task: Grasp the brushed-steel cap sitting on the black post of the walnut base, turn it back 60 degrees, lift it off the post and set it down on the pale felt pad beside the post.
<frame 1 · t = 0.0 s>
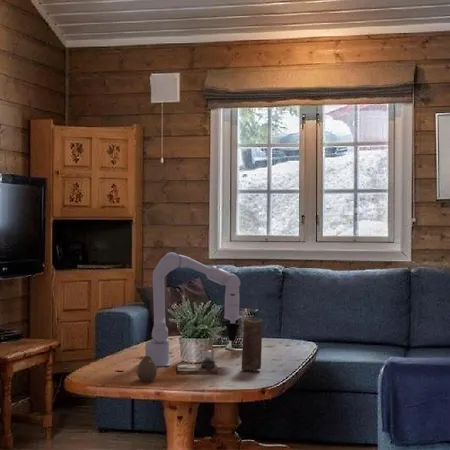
hand: (231, 339, 355), 10 cm above the table, fingers open, 7 cm apart
cap: (208, 362, 342), point 3 cm above the table, touching base board
base board: (197, 370, 342), on the table
vase: (146, 381, 320), on the table
candle: (251, 371, 343), on the table
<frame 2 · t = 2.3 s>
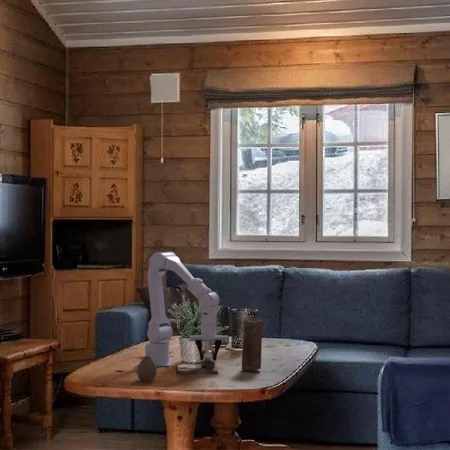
hand: (208, 360, 342), 4 cm above the table, fingers closed on cap, 5 cm apart
cap: (208, 362, 342), point 3 cm above the table, touching base board, gripper
everything else where it was.
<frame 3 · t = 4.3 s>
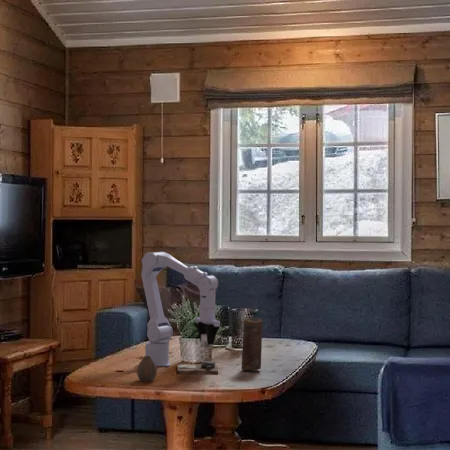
hand: (206, 343, 342), 10 cm above the table, fingers closed on cap, 5 cm apart
cap: (206, 345, 342), point 9 cm above the table, touching gripper
everything else where it was.
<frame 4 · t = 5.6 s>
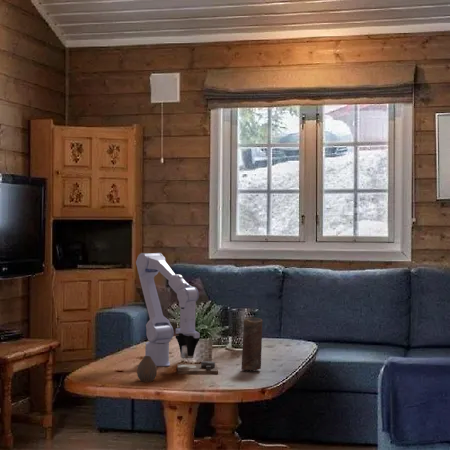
hand: (187, 354, 342), 6 cm above the table, fingers closed on cap, 5 cm apart
cap: (187, 357, 342), point 5 cm above the table, touching gripper
everything else where it was.
when the fingers open (3 cm above the table, at t = 6.6 s): cap stays where it is, resting on base board.
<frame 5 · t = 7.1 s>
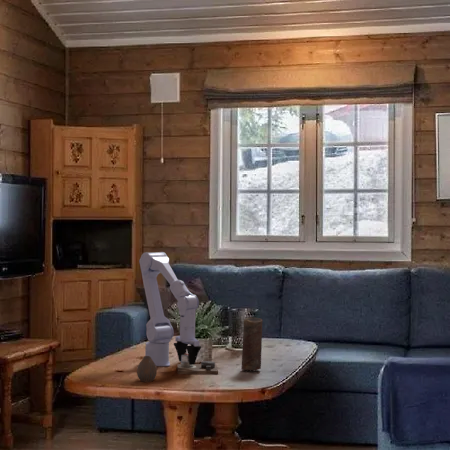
hand: (186, 362, 342), 3 cm above the table, fingers open, 7 cm apart
cap: (187, 366, 342), point 2 cm above the table, touching base board
everything else where it was.
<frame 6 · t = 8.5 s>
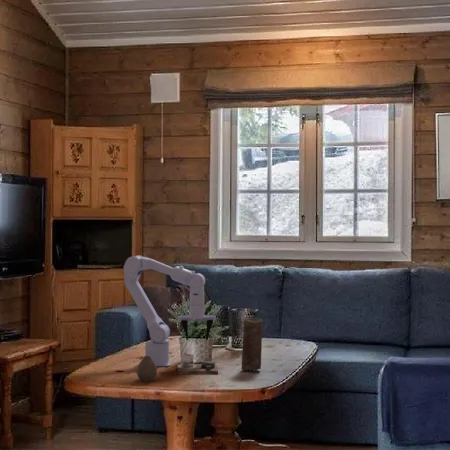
hand: (197, 339, 351), 10 cm above the table, fingers open, 7 cm apart
nothing on the table moved.
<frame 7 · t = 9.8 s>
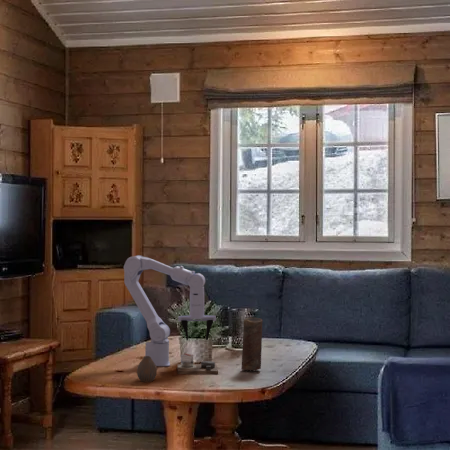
hand: (197, 339, 351), 10 cm above the table, fingers open, 7 cm apart
nothing on the table moved.
at the end: cap 0.1 cm from the target spot on the base board, point 1.5 cm above the base board's base; cap tilted 0°; the gripper is holding nothing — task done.
